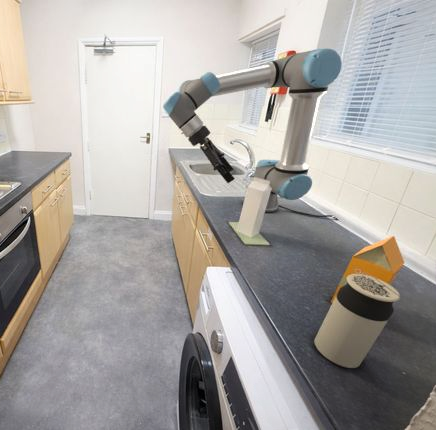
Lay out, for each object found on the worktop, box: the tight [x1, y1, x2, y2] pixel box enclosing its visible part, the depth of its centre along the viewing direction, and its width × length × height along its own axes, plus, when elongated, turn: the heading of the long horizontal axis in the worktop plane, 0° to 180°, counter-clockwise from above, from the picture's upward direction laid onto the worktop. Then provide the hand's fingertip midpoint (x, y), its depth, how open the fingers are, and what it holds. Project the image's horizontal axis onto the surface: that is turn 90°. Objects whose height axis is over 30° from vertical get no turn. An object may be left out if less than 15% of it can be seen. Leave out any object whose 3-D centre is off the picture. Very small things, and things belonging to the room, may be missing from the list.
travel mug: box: [313, 274, 401, 369], centre depth 53 cm, size 8×8×18 cm
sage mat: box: [228, 221, 271, 247], centre depth 105 cm, size 9×18×1 cm, turn 177°
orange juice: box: [330, 235, 405, 304], centre depth 66 cm, size 8×9×20 cm
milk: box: [237, 176, 272, 237], centre depth 100 cm, size 6×6×22 cm
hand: (230, 176), depth 99 cm, fingers open, 13 cm apart
